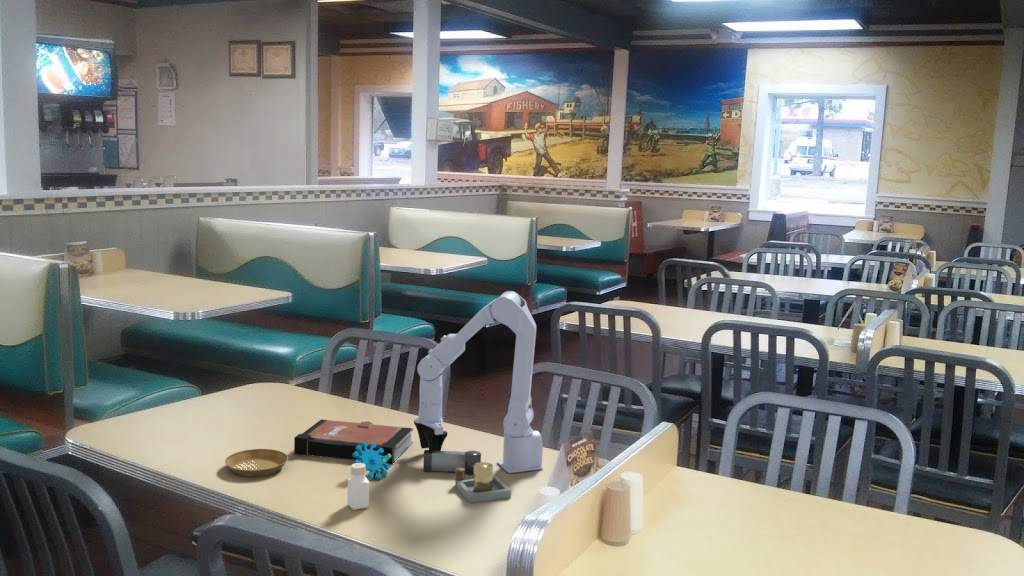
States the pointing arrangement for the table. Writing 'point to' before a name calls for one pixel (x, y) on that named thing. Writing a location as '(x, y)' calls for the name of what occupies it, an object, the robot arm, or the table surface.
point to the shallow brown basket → (257, 461)
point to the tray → (468, 492)
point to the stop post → (459, 475)
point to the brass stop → (483, 477)
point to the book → (352, 439)
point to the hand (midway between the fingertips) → (429, 452)
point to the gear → (372, 460)
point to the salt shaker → (358, 487)
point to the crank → (450, 460)
